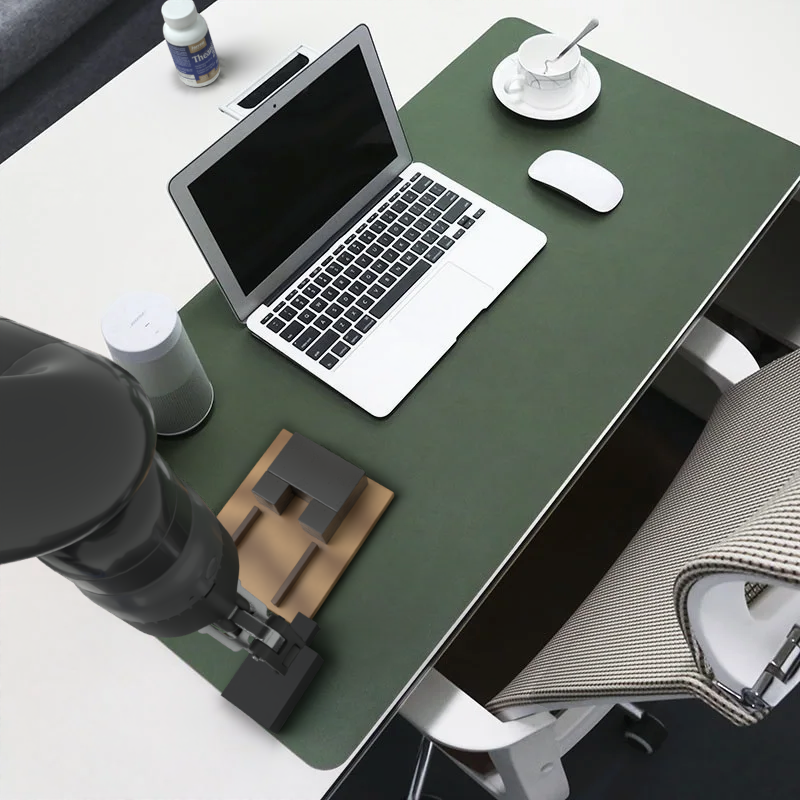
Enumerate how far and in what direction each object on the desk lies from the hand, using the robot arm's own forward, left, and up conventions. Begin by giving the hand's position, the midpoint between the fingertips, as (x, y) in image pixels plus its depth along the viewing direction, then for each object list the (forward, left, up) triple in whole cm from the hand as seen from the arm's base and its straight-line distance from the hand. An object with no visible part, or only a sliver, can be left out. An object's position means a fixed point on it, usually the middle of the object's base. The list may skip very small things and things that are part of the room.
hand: (226, 618), depth 60 cm
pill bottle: (+54, +51, -15) cm, 76 cm away
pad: (-1, -2, -15) cm, 15 cm away
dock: (+11, +5, -15) cm, 19 cm away
